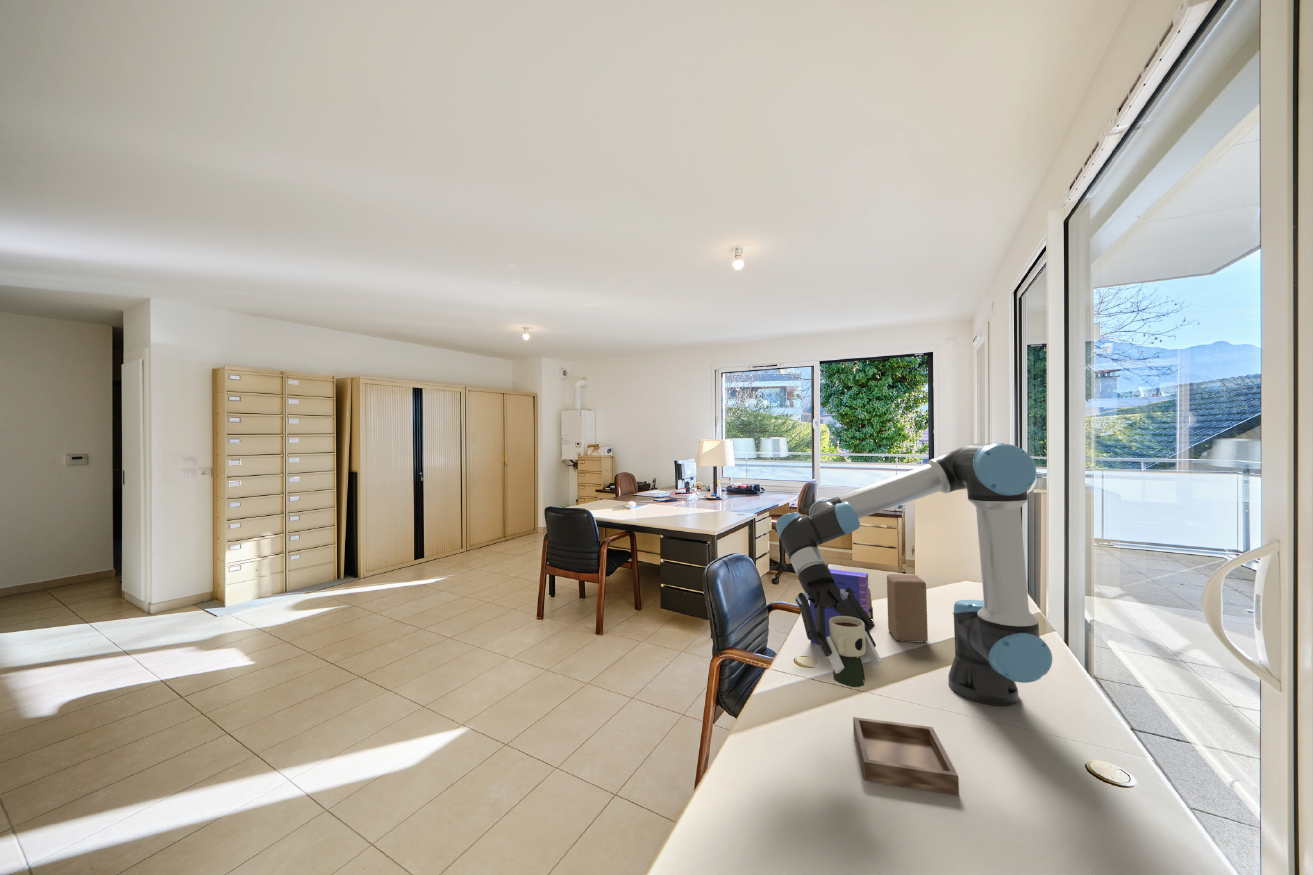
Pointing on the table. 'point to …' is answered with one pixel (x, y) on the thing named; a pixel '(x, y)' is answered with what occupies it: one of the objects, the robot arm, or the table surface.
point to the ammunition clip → (870, 606)
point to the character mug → (849, 648)
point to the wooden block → (907, 607)
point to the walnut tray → (904, 756)
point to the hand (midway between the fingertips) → (858, 667)
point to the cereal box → (842, 581)
